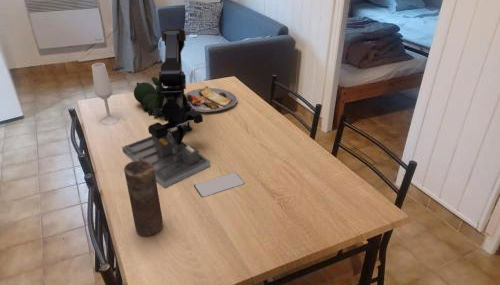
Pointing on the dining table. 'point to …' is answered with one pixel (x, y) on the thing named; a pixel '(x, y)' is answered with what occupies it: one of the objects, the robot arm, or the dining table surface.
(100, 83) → the champagne flute
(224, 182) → the smartphone
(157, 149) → the breaker mid
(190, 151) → the breaker
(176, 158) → the panel
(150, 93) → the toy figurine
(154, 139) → the block
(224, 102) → the food plate
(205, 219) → the dining table surface
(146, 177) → the candle
